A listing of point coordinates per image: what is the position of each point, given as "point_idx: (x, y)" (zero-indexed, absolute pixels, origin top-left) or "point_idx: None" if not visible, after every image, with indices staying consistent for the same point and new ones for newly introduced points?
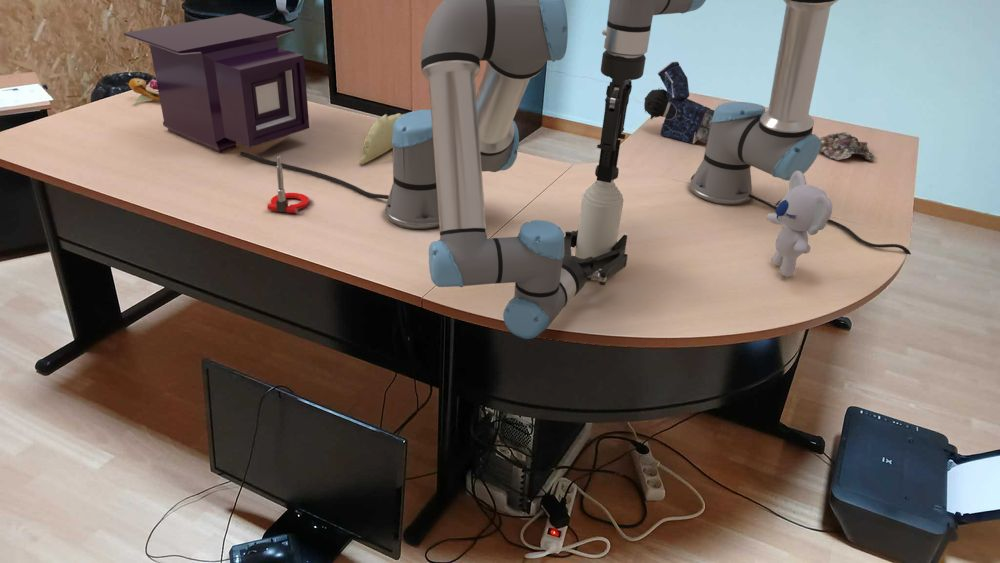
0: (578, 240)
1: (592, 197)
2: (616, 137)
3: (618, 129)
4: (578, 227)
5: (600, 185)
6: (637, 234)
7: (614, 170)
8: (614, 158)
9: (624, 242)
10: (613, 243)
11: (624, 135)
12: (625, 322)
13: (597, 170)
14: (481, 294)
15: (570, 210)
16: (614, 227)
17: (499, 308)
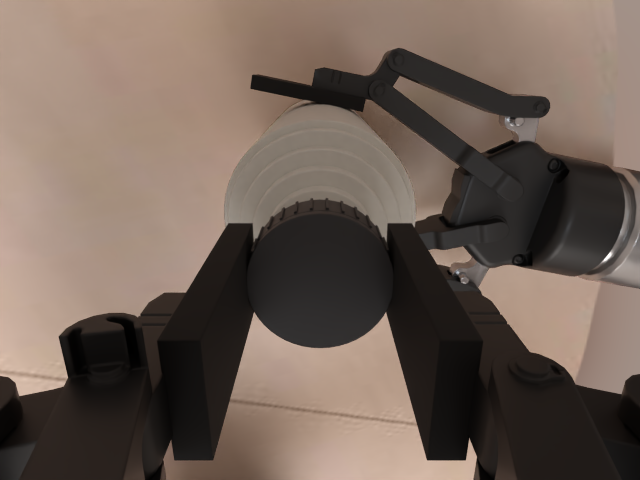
0: None
1: None
2: (575, 467)
3: (137, 471)
4: None
5: None
6: (40, 62)
7: (337, 238)
8: (440, 294)
9: (277, 79)
10: (351, 112)
11: (86, 341)
12: (557, 11)
13: (365, 330)
14: None
15: (18, 278)
16: (365, 124)
17: (563, 309)
